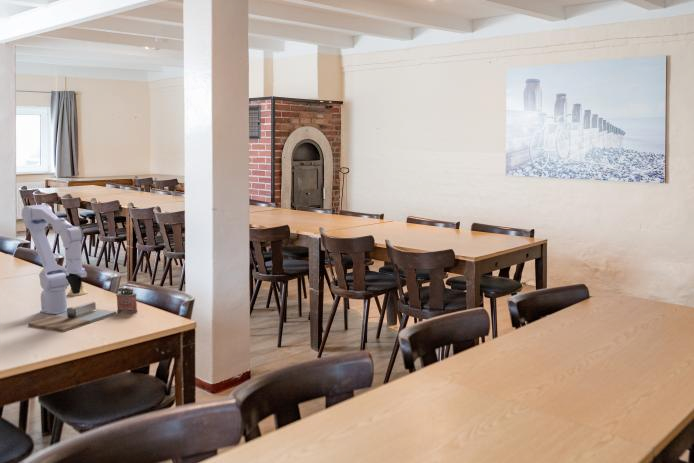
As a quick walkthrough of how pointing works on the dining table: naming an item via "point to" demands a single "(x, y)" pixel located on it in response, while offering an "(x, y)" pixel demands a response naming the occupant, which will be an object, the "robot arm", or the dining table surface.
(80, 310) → the lock bar
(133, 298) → the red tin can
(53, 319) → the plate
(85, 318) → the door plate
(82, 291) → the hand bell
